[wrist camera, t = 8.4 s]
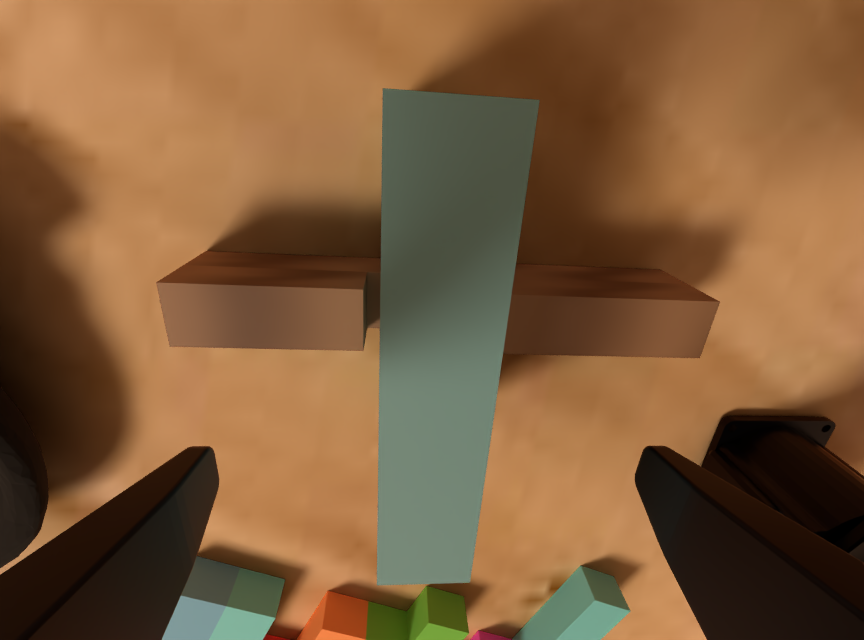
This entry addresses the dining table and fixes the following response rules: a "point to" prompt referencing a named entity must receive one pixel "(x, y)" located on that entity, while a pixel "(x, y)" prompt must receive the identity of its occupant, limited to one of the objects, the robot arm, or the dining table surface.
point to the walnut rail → (360, 307)
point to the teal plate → (443, 317)
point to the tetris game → (379, 611)
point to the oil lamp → (19, 482)
